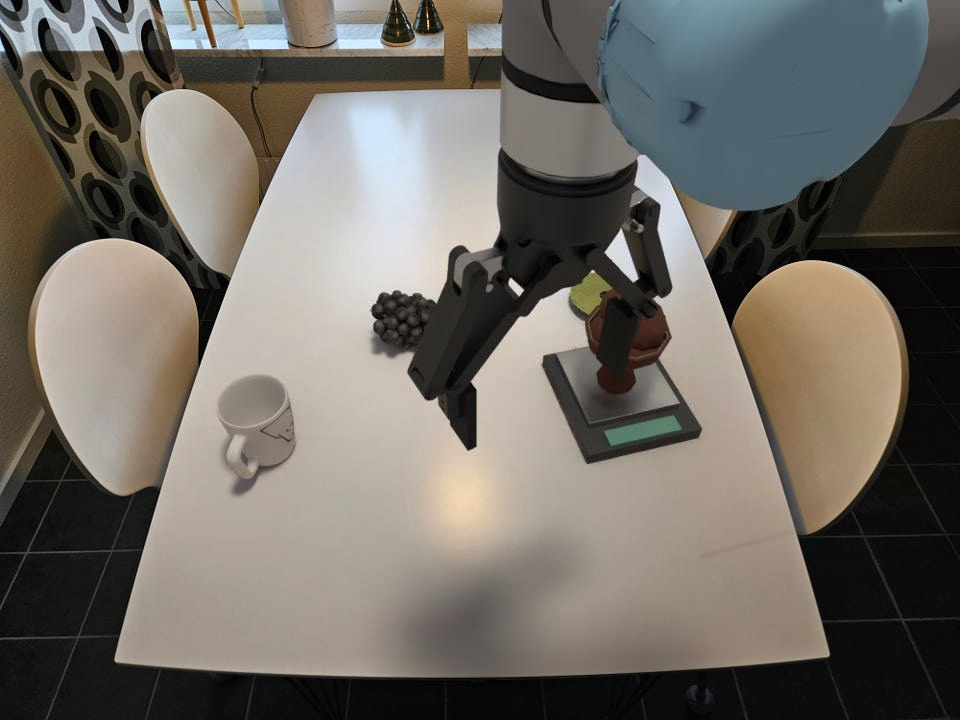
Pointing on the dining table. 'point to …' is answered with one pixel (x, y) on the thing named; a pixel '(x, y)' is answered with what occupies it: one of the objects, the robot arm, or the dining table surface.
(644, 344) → the ice cream bowl
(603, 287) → the mat
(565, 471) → the dining table surface
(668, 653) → the dining table surface
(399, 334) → the fruit
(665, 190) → the dining table surface
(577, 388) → the scale pan
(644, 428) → the scale
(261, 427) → the mug
